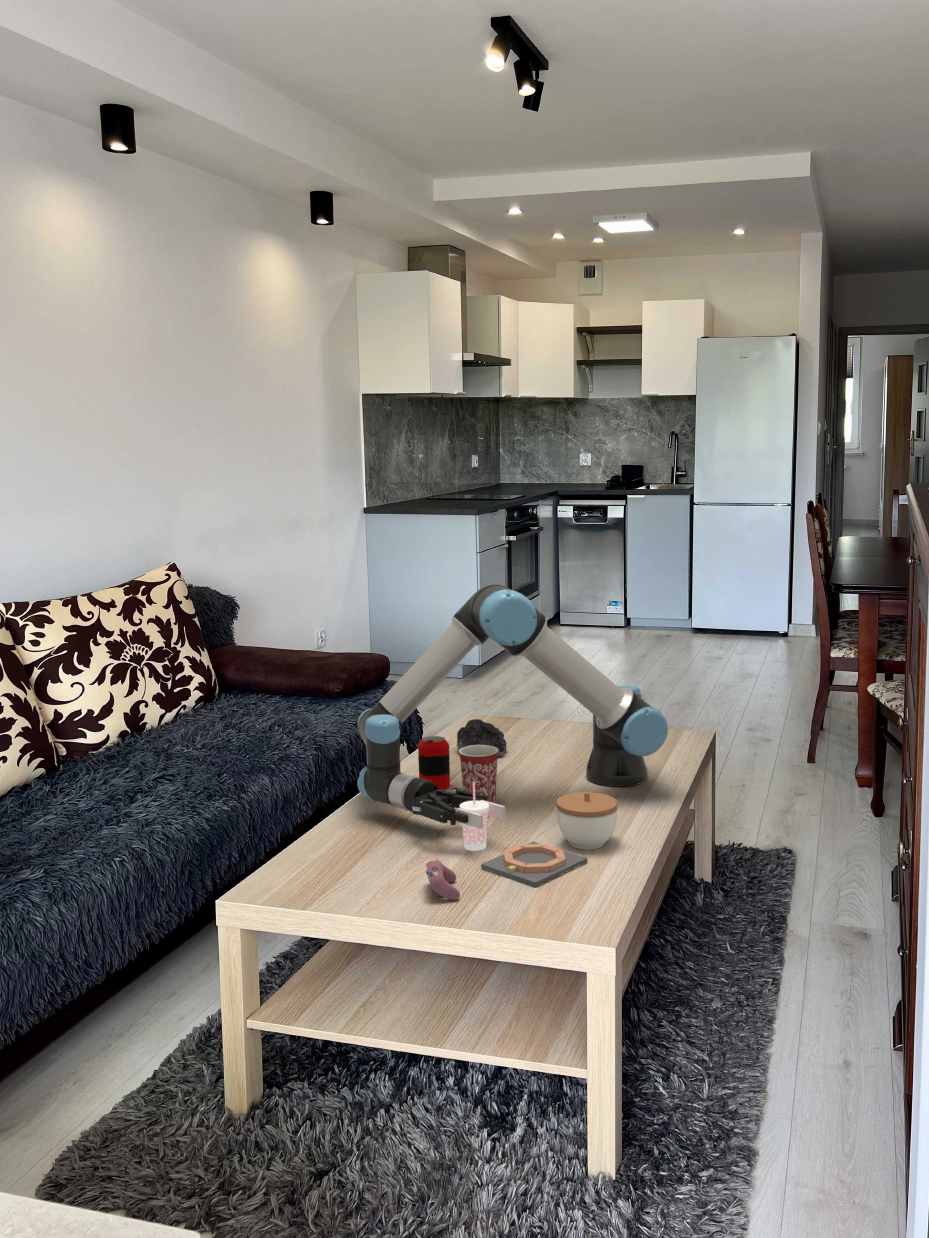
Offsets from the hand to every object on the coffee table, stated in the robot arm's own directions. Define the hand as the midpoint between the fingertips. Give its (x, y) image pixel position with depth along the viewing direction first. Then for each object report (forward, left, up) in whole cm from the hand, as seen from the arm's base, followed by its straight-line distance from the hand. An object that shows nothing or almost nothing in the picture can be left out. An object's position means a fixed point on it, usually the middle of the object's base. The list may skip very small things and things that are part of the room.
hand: (492, 817), depth 222 cm
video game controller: (+21, +6, -8) cm, 23 cm away
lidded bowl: (-17, +11, -8) cm, 22 cm away
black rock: (-51, -50, -8) cm, 72 cm away
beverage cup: (0, -5, -8) cm, 9 cm away
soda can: (-23, -40, -8) cm, 47 cm away
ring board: (0, +11, -8) cm, 13 cm away
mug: (-21, -22, -8) cm, 31 cm away
